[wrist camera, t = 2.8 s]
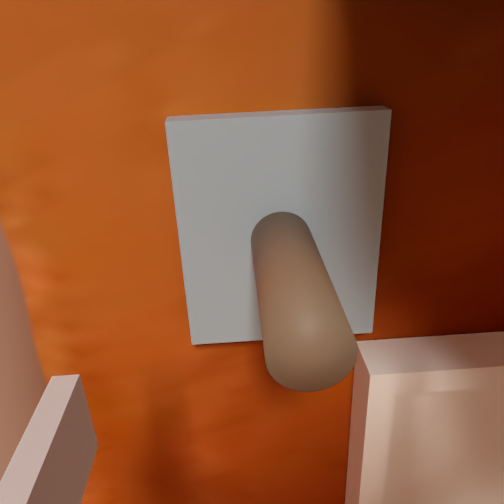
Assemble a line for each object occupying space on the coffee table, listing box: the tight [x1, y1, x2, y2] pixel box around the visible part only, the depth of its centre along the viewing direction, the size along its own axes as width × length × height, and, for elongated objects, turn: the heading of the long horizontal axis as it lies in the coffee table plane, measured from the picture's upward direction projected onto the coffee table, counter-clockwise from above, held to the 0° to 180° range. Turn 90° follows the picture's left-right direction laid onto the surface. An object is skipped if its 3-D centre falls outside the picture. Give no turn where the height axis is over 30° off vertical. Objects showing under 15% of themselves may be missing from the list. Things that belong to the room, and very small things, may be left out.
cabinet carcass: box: [345, 331, 504, 504], centre depth 29 cm, size 17×15×5 cm
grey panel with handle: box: [165, 105, 392, 392], centre depth 20 cm, size 12×10×11 cm
